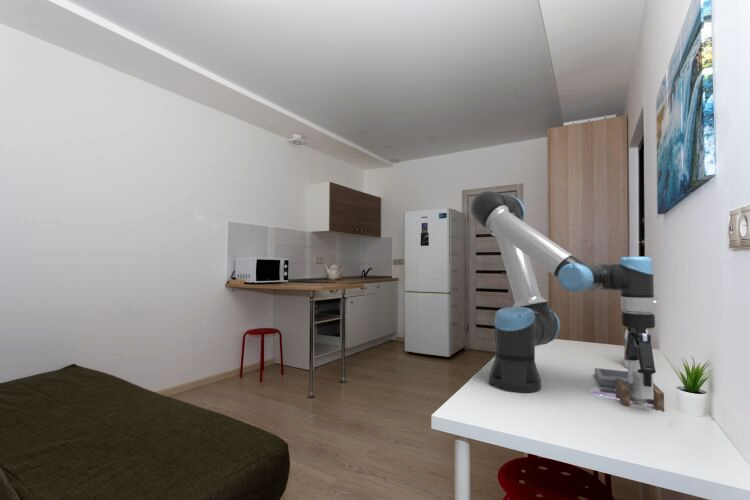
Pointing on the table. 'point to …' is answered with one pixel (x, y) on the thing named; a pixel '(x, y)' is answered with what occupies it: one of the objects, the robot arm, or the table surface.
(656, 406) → the walnut bracket
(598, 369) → the charcoal tray
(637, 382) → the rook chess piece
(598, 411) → the table surface
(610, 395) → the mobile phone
